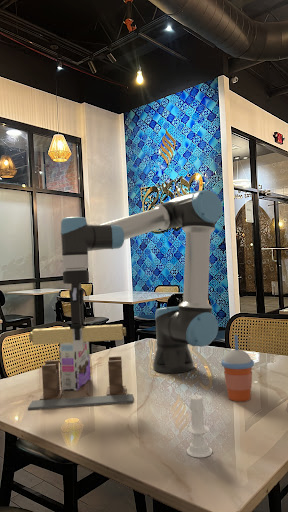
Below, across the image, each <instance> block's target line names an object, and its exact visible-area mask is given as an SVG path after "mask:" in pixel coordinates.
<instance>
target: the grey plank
mask: <svg viewBox="0 0 288 512" xmlns="http://www.w3.org/2000/svg"><path fill="white" fill-rule="evenodd" d="M131 403H132V404H133V403H134V394H133V393H128V394H127V393H126V394H124V395H110V396H106V395H96V396H84V397H83V396H82V397H68V398H67V397H66V398H61V399H50V400H40V399H38V400H32V401H31V402H30V404H29V405H28V407H27V410H28V411H29V410H40V409H41V410H43V409H58V408H71V407H73V408H74V407H86V406H103V405H116V404H117V405H118V404H131Z"/></svg>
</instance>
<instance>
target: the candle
mask: <svg viewBox="0 0 288 512" xmlns="http://www.w3.org/2000/svg"><path fill="white" fill-rule="evenodd" d="M189 399H190V400H189V401H190V402H189V410H190V413H191V415H190V416H191V425H190V426H188V427H187V428H186V431H187V432H188V433H190V434H192V435H193V438H192V441H191V442H190V443H189V447H188V448H187V449H186V454H187V455H188V456H190V457H193V458H198V459H200V458H206V457H209V456H211V455H212V454H213V449H212V448H211V447H210V446H209V443H208V442H207V441H206V438H205V437H204V435H206V434H207V433H208V432H209V431H210V427H209V426H207V425H205V417H204V416H205V415H204V414H205V413H204V411H205V408H204V401H203V400H204V399H203V396H202V395H198V394H195V393H194V395H192V396H190V397H189Z"/></svg>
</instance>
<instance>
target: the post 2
mask: <svg viewBox="0 0 288 512" xmlns="http://www.w3.org/2000/svg"><path fill="white" fill-rule="evenodd" d="M122 362H123V361H122V355H118V356H115V355H114V356H108V360H107V363H108V365H107V366H108V385H109V386H106V395H105V396H110V395H124V394H127V386H126V385H124V384H123V381H124V380H123V365H122V364H123V363H122Z"/></svg>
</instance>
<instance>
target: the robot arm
mask: <svg viewBox="0 0 288 512" xmlns="http://www.w3.org/2000/svg"><path fill="white" fill-rule="evenodd" d="M222 215H223V204H222V201H221V200H220V198H219V197H218V195H217V194H216V193H215V192H214V191H212V190H210V189H209V190H208V189H203V190H197V191H194V192H190V193H187V194H183V195H179V196H176V197H174V198H172V199H170V200H169V201H166V202H162V203H160V204H157V205H155V206H154V208H153V209H150V210H147V211H142V212H139V213H135V214H132V215H129V216H125V217H122V218H118V219H115V220H112V221H108V222H105V223H101V224H89V223H88V222H87V219H86V217H83V216H81V217H80V216H70V217H69V216H68V217H64V218H62V219H61V221H60V222H61V223H60V237H61V240H60V241H61V252H62V253H61V254H62V255H61V257H62V258H60V263H62V269H63V270H64V271H63V272H62V282H63V284H66V285H71V286H70V288H71V289H69V290H68V291H69V292H68V293H69V294H68V295H69V304H70V315H71V317H70V318H71V325H70V326H69V327H70V329H73V350H74V351H83V348H85V345H84V342H83V333H82V328H81V327H82V326H86V325H87V322H85V316H84V313H85V312H84V294H85V289H84V288H83V287H82V284H87V283H89V282H90V273H89V270H87V269H88V268H89V252H92V251H100V250H101V251H102V250H116V249H117V250H118V249H120V248H122V247H123V245H124V243H125V240H129V239H132V238H134V237H138V236H141V235H143V234H147V233H150V232H154V231H156V230H161V231H166V230H169V229H173V228H181V229H182V231H183V232H184V233H185V251H184V252H185V253H184V275H183V295H182V297H183V298H182V301H181V303H179V304H178V305H177V306H167V307H160V308H156V311H155V316H154V321H155V333H156V336H155V338H156V350H155V354H154V359H153V362H152V364H153V366H152V369H153V371H155V372H158V373H163V374H178V373H180V374H181V373H185V372H189V371H191V370H193V369H194V367H195V365H194V360H193V357H192V355H191V351H190V349H189V345H190V346H193V347H206V346H207V347H208V346H209V345H210V344H211V343H212V342H213V341H214V340H215V338H216V337H217V335H218V332H219V323H218V322H219V321H218V319H217V318H216V316H215V315H214V314H213V307H212V305H211V304H210V303H209V282H210V281H209V279H210V278H209V277H210V254H211V253H210V252H211V251H210V250H211V234H212V233H213V232H214V231H215V230H216V222H218V221H219V220H220V219H221V218H222Z"/></svg>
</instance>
